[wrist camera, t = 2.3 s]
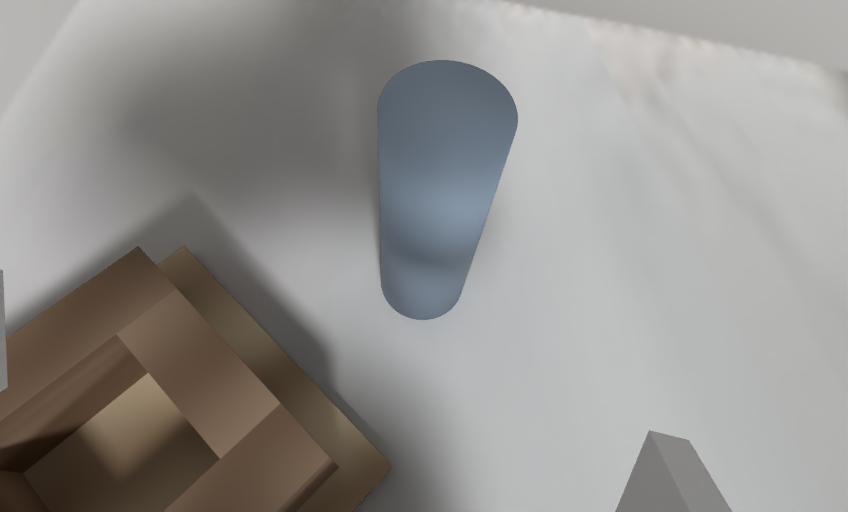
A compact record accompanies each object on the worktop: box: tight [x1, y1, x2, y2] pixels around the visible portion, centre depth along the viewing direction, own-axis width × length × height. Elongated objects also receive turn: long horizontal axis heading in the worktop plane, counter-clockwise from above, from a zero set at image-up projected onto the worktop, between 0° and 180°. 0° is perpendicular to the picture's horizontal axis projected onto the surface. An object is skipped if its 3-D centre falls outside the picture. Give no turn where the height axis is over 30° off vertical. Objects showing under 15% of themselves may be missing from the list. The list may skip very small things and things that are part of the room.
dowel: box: [378, 60, 518, 320], centre depth 20 cm, size 4×4×12 cm
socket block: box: [0, 246, 393, 512], centre depth 19 cm, size 14×14×5 cm
